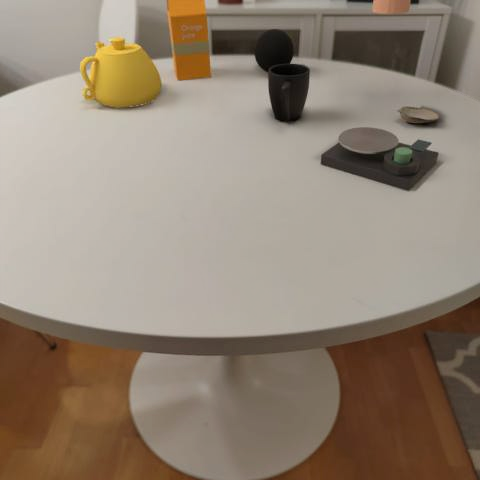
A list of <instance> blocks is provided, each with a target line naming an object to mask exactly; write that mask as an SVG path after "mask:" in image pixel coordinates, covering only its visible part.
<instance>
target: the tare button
mask: <svg viewBox="0 0 480 480" xmlns="http://www.w3.org/2000/svg"><path fill="white" fill-rule="evenodd" d="M411 156H412V150H411V149H409V148H405V147H400V148H397V149H396V150H395V155H394V161H395V162H397V163H402V164H406V163H410V161H411Z"/></svg>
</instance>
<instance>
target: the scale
mask: <svg viewBox="0 0 480 480" xmlns="http://www.w3.org/2000/svg"><path fill="white" fill-rule="evenodd" d="M411 145H412V144H411ZM411 145H410V144H406V143H402V142H398V146H397V147H396V148H395V149H394V150H392V151H389V152H386V153H380V154H365V153H358V152H354V151H351V150H348V149H346V148H344V147H343V146H342V145H341V144H340V143H339V142H337V143H336V144H335V145H332V147H330V148H329V149H327V150H326V151H324V152H323V153H322V154H320V155H321V156H320V166H321V165H322V166H324V167H327V168H330V169H334V170H338V171H341V172H344V173H348V174H351V175H354V176H358V177H359V178H364V179H367V180H371V181H374V182H377V183H380V184H383V185H388V186H390V187H393V188H397V189H399V190H403V191H407V192H408V191H409V190H411V189H412V188H413V187H414V186H415V185H416V184H417V183H418V182H419V180H420V179H422V178H423V176H424V175H426V174H427V173H428V172H429V171H430V170H431V169H432V168H433V167H434V166H435V165H436V164H437V162H438V158H439V154H440V153H439V152H438V151H433V150H430V149H426V150H424V151H423V152H419V151H415V150H412V156H411V161H410V163H406V164H402V163H397V162H395V161H394V155H395V150H396V149H397V148H400V147H405V148H409V147H410V146H411Z"/></svg>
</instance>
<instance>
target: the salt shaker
mask: <svg viewBox="0 0 480 480" xmlns="http://www.w3.org/2000/svg"><path fill="white" fill-rule="evenodd" d="M411 2H412V0H373V2H372V8H371V9H372V10H371V11H372V13H375V14H381V15H400V14H401V15H402V14H406V13H408V12H410V7H411Z"/></svg>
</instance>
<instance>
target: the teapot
mask: <svg viewBox="0 0 480 480" xmlns="http://www.w3.org/2000/svg"><path fill="white" fill-rule="evenodd" d="M109 42H110V44H108V45H107V44H106V45H105V42H102V41H98V42H97V41H96V42H94V43H95V48H96V52H95V54H94V56H93V55H89V56H86V57H84V58H83V59H82V60H81V61H80V64H79V71H80V74H81V78H82V79H83V81H84V83H85V85H86V87H84V88H83V89H82V96H83V98H84V99H85V100H86V101H94V100H96V101H97V102H99V103H100V104H101V105H102V104H103V105H102V106H104V105H106V106H105V107H107V106H111V107H130V106H136V105H141V104H144V105H146V104H145V103H147V104H149V103H151V102H153V101H155V100H156V98H157V97H158V96H159V94H160V92H161V90H162V87H163V84H162V79H161V76H160V73H159V70H158V68H157V67H156V64H155V63H154V61H153V60H152V58H151V57H150V56H149V55H148V52H147V51H145V50H144V49H143V47H142V46H141V45H140V44H137V43H131V42H127V43H126V38H125V37H122V36H117V37H116V36H115V37H112V38H109ZM89 64H91V66H90V70H89V76H88V72H87V66H88V65H89ZM88 91H89V94H88ZM152 100H153V101H152ZM148 102H149V103H148ZM141 106H142V105H141ZM111 107H110V108H111Z"/></svg>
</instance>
